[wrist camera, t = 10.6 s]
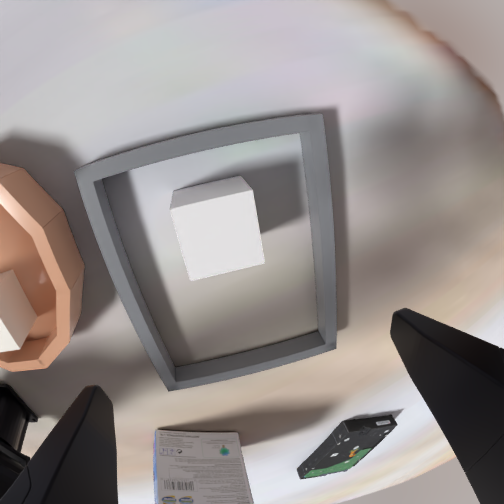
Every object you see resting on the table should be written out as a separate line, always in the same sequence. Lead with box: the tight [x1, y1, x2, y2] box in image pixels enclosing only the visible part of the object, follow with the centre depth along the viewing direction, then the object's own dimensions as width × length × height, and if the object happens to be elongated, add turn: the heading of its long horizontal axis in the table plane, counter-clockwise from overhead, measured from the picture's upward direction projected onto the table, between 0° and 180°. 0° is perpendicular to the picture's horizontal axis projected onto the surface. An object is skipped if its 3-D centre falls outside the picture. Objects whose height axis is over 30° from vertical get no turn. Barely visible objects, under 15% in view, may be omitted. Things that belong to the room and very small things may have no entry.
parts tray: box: [74, 113, 337, 391], centre depth 21 cm, size 19×15×2 cm
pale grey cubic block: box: [170, 176, 265, 281], centre depth 18 cm, size 4×4×4 cm
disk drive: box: [297, 415, 397, 479], centre depth 38 cm, size 10×3×15 cm
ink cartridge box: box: [153, 430, 254, 504], centre depth 24 cm, size 10×6×14 cm, turn 76°
